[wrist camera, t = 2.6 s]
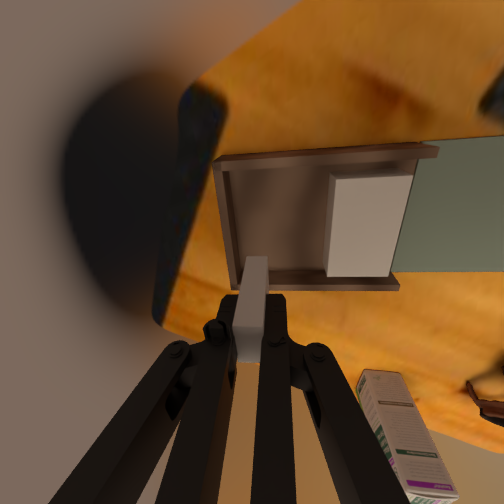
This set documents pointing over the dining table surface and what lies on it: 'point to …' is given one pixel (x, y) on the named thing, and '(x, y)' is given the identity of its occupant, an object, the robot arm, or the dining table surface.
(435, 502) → the syrup box
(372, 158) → the walnut box
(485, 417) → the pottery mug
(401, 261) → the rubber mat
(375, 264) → the light grey block
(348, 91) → the dining table surface
